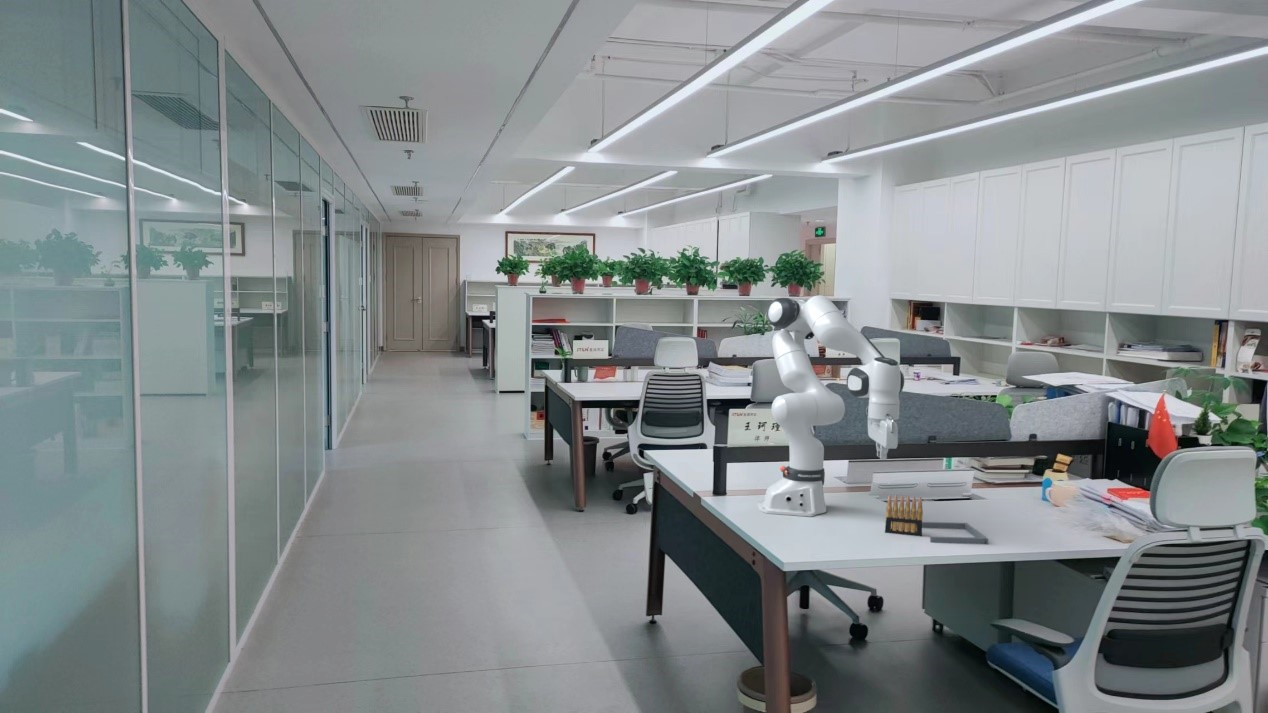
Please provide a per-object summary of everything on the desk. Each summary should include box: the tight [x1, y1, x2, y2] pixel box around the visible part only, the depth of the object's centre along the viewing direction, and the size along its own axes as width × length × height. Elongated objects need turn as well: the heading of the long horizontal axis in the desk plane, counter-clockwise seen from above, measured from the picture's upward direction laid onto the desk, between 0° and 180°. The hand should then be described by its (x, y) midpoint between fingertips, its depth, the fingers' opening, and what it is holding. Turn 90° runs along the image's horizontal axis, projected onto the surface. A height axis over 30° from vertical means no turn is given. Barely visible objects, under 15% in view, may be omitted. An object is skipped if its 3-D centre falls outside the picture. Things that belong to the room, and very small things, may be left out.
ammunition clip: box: [884, 493, 924, 537], centre depth 259 cm, size 11×2×12 cm, turn 73°
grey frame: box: [922, 521, 989, 545], centre depth 259 cm, size 16×17×2 cm
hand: (881, 458), depth 258 cm, fingers closed
